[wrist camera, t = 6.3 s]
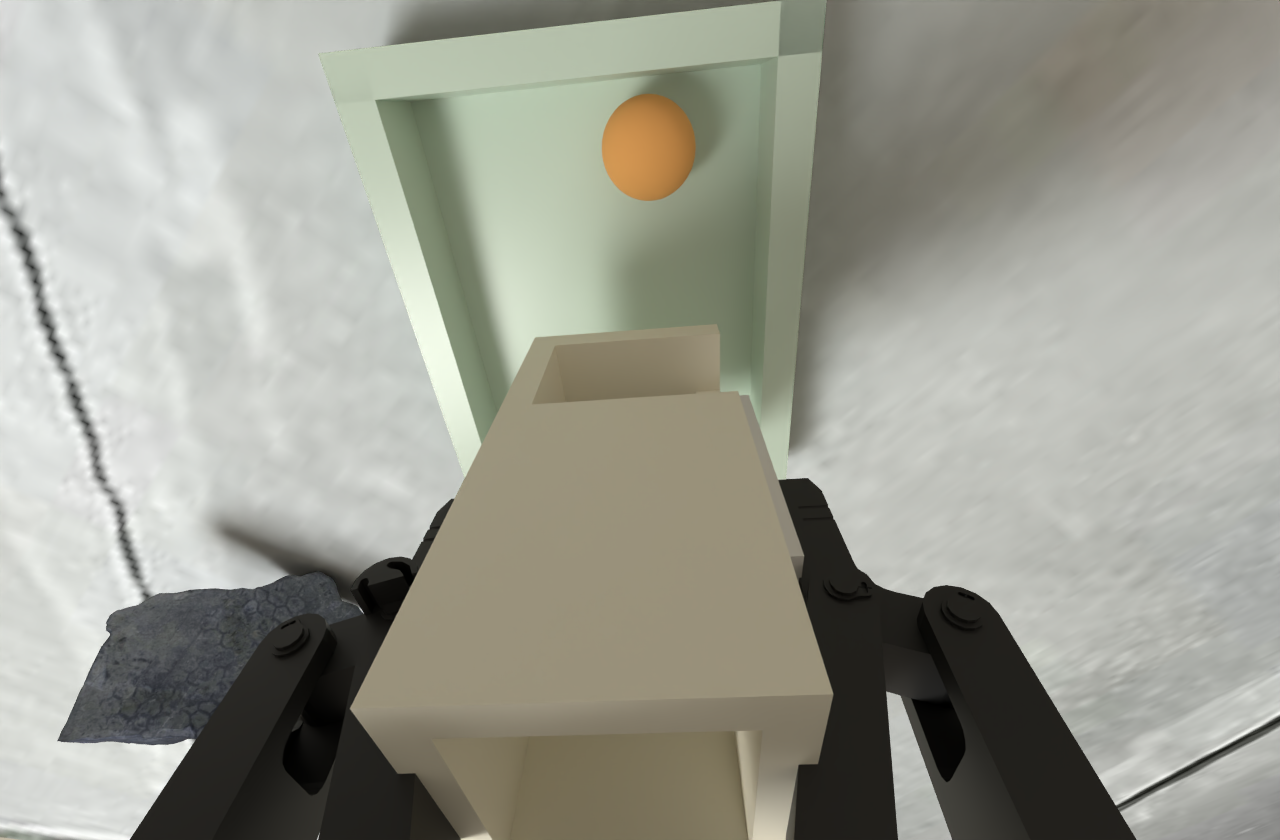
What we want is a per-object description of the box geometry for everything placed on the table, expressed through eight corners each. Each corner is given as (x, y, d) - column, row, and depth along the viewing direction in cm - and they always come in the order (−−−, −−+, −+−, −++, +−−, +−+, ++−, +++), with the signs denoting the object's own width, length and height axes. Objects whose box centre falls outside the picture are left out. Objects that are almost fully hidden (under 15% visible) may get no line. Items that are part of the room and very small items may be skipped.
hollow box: (535, 337, 16) (349, 708, 6) (716, 324, 16) (833, 694, 6) (564, 478, 20) (474, 876, 9) (717, 470, 19) (792, 874, 9)
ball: (600, 218, 17) (606, 156, 18) (689, 223, 17) (689, 161, 18) (595, 135, 14) (603, 68, 15) (702, 141, 14) (701, 74, 15)
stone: (426, 580, 31) (340, 759, 22) (424, 638, 34) (347, 815, 25) (185, 536, 29) (-9, 711, 20) (206, 601, 32) (45, 777, 24)
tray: (376, 64, 17) (318, 53, 14) (794, 17, 16) (827, -5, 13) (500, 479, 26) (481, 526, 23) (767, 464, 25) (783, 510, 22)
